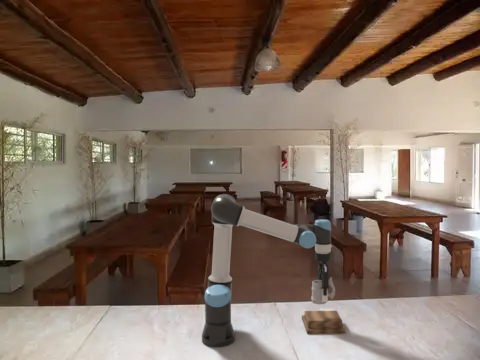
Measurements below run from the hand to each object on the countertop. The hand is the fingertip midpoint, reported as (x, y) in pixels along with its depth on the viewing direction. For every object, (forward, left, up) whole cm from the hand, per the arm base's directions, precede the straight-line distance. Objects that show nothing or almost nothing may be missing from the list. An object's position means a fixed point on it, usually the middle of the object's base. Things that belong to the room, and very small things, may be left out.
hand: (323, 298), depth 202 cm
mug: (0, 0, -2) cm, 2 cm away
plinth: (0, 0, -14) cm, 14 cm away
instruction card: (+6, +16, -14) cm, 22 cm away
